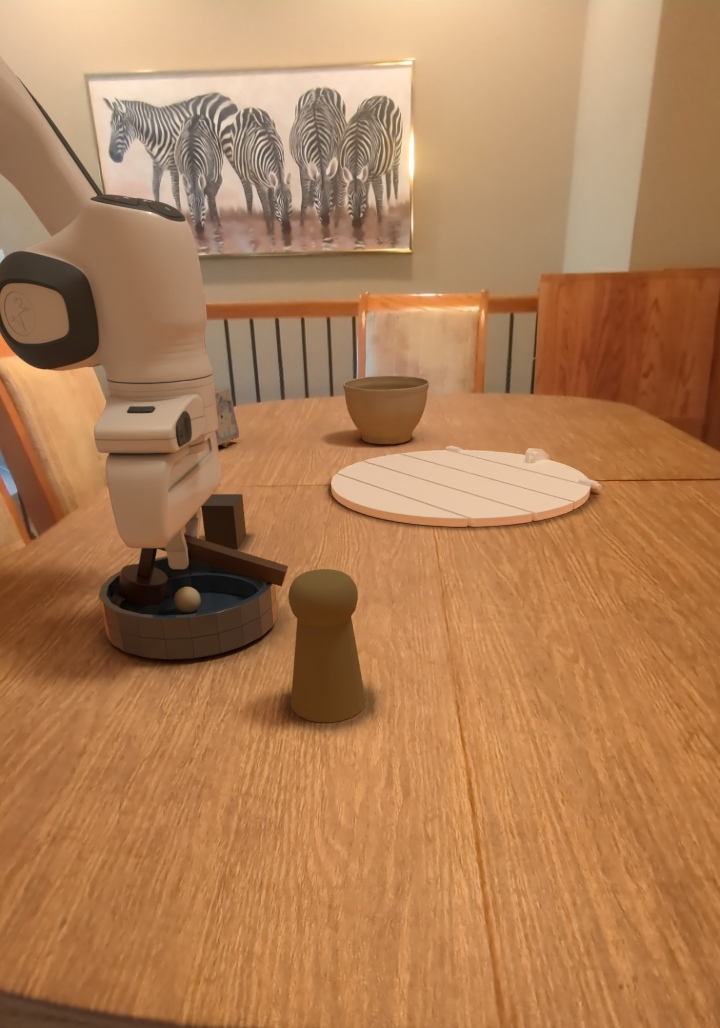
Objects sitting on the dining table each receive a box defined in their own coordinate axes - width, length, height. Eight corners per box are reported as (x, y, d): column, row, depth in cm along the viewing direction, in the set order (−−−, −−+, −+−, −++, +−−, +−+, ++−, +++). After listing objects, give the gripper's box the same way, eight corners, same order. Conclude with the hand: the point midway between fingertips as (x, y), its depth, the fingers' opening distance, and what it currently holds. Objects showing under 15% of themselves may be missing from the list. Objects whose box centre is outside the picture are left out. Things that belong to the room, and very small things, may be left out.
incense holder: (204, 440, 151) (198, 385, 146) (241, 442, 148) (236, 387, 143) (177, 450, 143) (169, 393, 138) (215, 453, 140) (208, 395, 135)
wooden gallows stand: (110, 596, 71) (122, 528, 68) (126, 579, 75) (137, 513, 72) (265, 642, 73) (283, 577, 69) (273, 622, 77) (290, 560, 73)
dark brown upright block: (206, 548, 94) (200, 505, 91) (216, 535, 98) (211, 494, 96) (237, 548, 94) (233, 505, 91) (246, 535, 98) (242, 494, 95)
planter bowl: (328, 440, 147) (325, 382, 143) (387, 428, 157) (387, 373, 152) (385, 453, 137) (384, 391, 132) (445, 439, 146) (446, 380, 141)
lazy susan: (466, 445, 141) (467, 426, 140) (648, 488, 113) (652, 466, 111) (283, 483, 120) (282, 461, 119) (449, 547, 92) (450, 520, 90)
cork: (276, 700, 61) (265, 574, 56) (334, 675, 65) (329, 554, 60) (321, 731, 57) (314, 598, 52) (381, 703, 60) (379, 575, 55)
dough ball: (180, 619, 76) (176, 595, 77) (205, 612, 76) (201, 589, 77) (172, 610, 74) (168, 586, 74) (198, 604, 74) (194, 580, 74)
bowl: (79, 662, 68) (69, 617, 66) (141, 590, 82) (135, 551, 80) (259, 666, 66) (254, 620, 64) (289, 591, 81) (286, 552, 79)
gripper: (166, 392, 75) (183, 525, 81) (83, 436, 57) (114, 603, 63) (228, 391, 74) (241, 526, 81) (165, 435, 56) (188, 604, 62)
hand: (185, 560), depth 72 cm, fingers closed on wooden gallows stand, 2 cm apart
